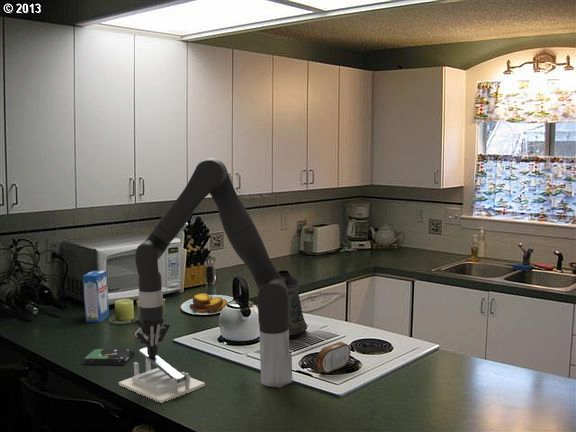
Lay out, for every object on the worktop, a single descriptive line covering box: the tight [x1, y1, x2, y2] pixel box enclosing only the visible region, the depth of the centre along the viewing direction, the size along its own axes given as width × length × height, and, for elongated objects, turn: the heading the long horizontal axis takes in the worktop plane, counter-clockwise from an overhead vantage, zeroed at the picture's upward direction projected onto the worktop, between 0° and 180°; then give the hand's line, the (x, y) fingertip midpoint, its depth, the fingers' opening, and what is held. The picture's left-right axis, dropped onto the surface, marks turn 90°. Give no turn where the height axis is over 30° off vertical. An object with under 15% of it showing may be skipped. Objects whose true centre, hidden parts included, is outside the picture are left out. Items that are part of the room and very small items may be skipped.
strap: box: [138, 346, 186, 383], centre depth 204 cm, size 21×3×1 cm, turn 49°
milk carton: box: [82, 270, 110, 323], centre depth 278 cm, size 10×6×20 cm, turn 172°
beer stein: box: [277, 270, 307, 341], centre depth 250 cm, size 16×19×25 cm
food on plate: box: [180, 292, 234, 315], centre depth 290 cm, size 25×25×7 cm
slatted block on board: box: [118, 358, 206, 404], centre depth 205 cm, size 22×17×6 cm
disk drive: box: [83, 347, 135, 366], centre depth 230 cm, size 10×3×15 cm
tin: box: [315, 341, 352, 374], centre depth 215 cm, size 15×3×8 cm, turn 135°
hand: (152, 356), depth 207 cm, fingers closed
